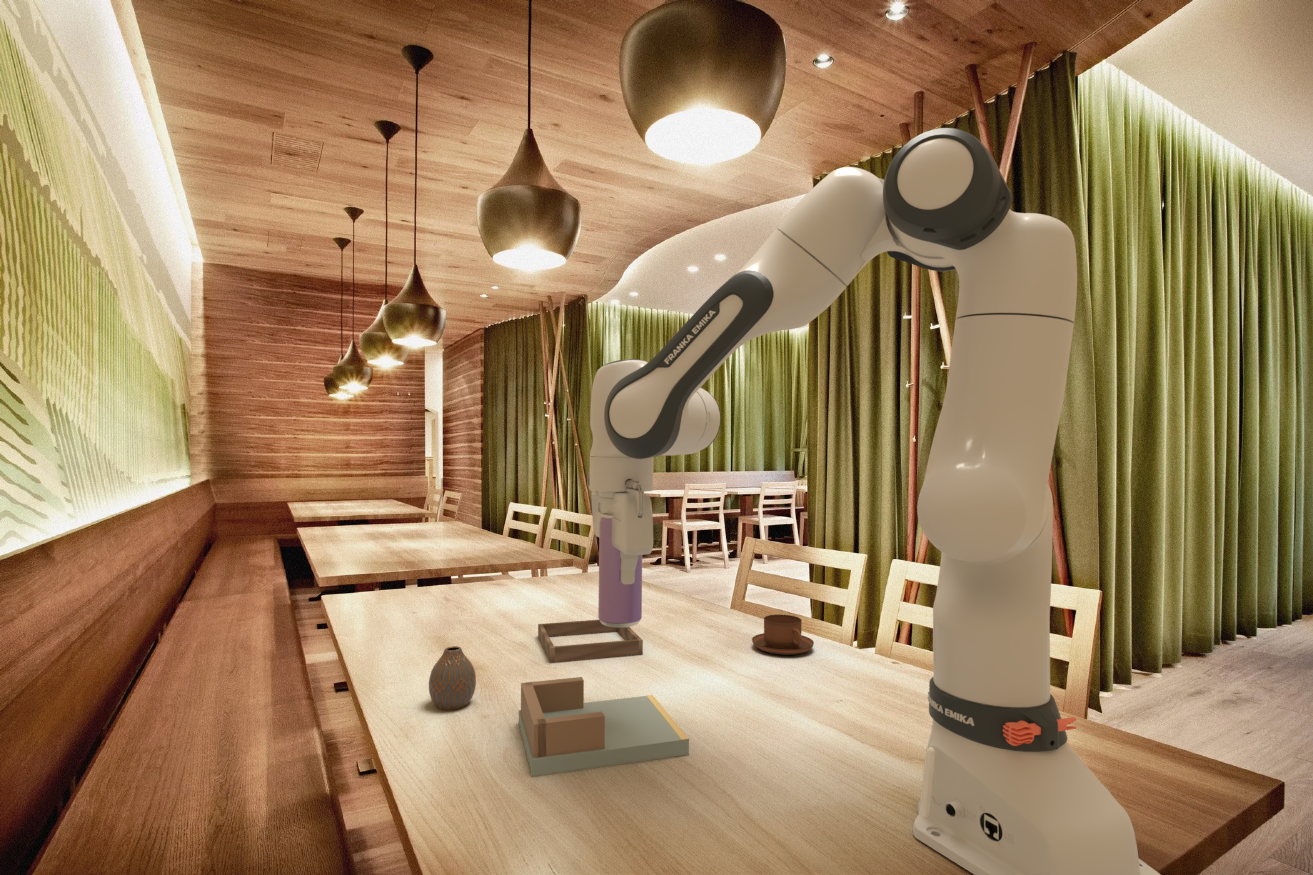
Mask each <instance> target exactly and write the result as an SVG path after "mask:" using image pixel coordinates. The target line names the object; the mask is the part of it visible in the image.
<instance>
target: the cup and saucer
mask: <svg viewBox="0 0 1313 875" xmlns="http://www.w3.org/2000/svg"><path fill="white" fill-rule="evenodd" d="M802 625H803V624H802V619H801V618H800V617H798V616H795V615H790V614H769V615H765V616H764V617H763V633H759V634H756V635H754V636H752V638H751V642H752V645H754V646H755V648H757V649H759V650H760V651H762V652H765V653H770V654H773V655H774V654H775V655H782V656H786V655H787V656H789V655H794V656H795V655H799V654H804V653H807V652H808V651H810V650H811V649H812V648H813V647H814V644H815V642H814V640H813V639H812V638H810V637H807V636H805V635H802Z"/></svg>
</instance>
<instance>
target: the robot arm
mask: <svg viewBox="0 0 1313 875" xmlns="http://www.w3.org/2000/svg"><path fill="white" fill-rule="evenodd" d="M1013 197H1014V196H1013V194H1012V192H1011V189H1010V188H1009V186H1008V185H1007V182H1006V180H1005V178H1004V177H1003V175H1002V173H1001V171H1000V168H999V166H998V163H997V162H996V161H995V158H994V157H993V155H992V153H991V152H990V150H989V149H988V148H987V147H986V146H985V145H984V143H982V142H981V140H980V139H978V138H977V137H976V136H974V135H973V134H971V133H970V132H967V131H964V130H962V129H958V128H953V127H942V128H941V127H940V128H935V129H931V130H928V131H924V132H923V133H920V134H919V135H917V136H915V137H913V138H912V139H911V140H909V141H907V143H906V144H904V145H903V146H902V147H901V148H900V149H899V151H897V153H896V155H895V156H894V157H893V158H892V160H891V162H890V163H889V166H888V168H887V170H886V174H885V176H884V178H879V177H878V176H876V175H875V174H873V173H872V172H870V171H867V170H865V169H863V168H859V167H855V166H843V167H839V168H836V169H834V170H832V171H830V173H828V174H827V175H826V176H825V177H823V179H822V180H820V181H819V182H818V183H817V184H816V185H815V186H814V187H812V189H810V191H808V193H806V194H805V195H804V197H802V198H801V199H800V200H799V201H798V202H797V203H796V205H794V207H793V208H792V209H790V211H789V212H788V213H787V215H786V216H784V218H783V219H782V220H781V222H780V223H779V224H778V225H777V226H776V229H774V230H773V231H772V233H771V234H770V235H769V236H768V238H767V239H766V240H765V241H764V242H763V243H762V245H761V246H760V247H759V249H758V250H756V252H755V253H754V254H753V255H752V256H751V258H750V259H749V260H748V261H747V262H746V263H745V264H744V265H743V266H742V267H741V268H740V269H739V270H737V272H736V273H734V275H733V276H731V277H730V278H729V279H728V280H727V281H726V282H725V283H724V284H723V283H722V285H721V286H720V287H719V288H718V289H716V291H715V292H714V293H713V294H712V295H710V296H709V297H708V299H707V300H706V301H705V302H703V304H702V305H701V306H700V307H699V308H698V310H696V311H695V313H693V315H692V316H691V317H690V318H689V319H688V320H687V321H686V322H685V323H684V325H683V326H682V327H681V328H680V329H679V330H678V331H677V332H676V333H675V334H674V335H673V336H672V337H671V339H670V340H668V342H667V343H666V344H665V345H664V346H663V347H662V348H661V349H660V350H659V351H658V352H657V353H656V355H655V356H653V358H651V359H650V361H648V362H647V361H646V360H643V359H638V358H630V359H629V358H628V359H619V360H614V361H611V362H608V363H605V364H603V365H602V366H601V367H600V368H598V369H597V371H596V373H595V375H594V378H593V383H592V387H591V393H590V394H591V395H590V396H591V398H590V411H589V412H590V413H589V417H590V418H589V425H590V430H591V433H592V445H591V448H590V452H589V472H588V474H587V487H588V489H589V490H590V492H591V493H590V494H591V497H590V498H591V514H592V526H593V530H594V535H595V536H596V537H597V538H599V525H600V519H601V514H602V513H607V514H608V515H614V518H612V545H613V547H615V548H616V549H618V550H620V558H621V569H619V580H620V582H621V583H623V584H633V583H634V581H635V569H636V565H637V561H638V555H642V556H643V555H651V553H652V552H653V547H654V519H653V507H652V501H651V497H650V496H649V495H648V494H646V493H645V492H652V491H654V458H655V457H659V456H661V457H662V456H681V455H682V456H683V455H685V456H687V455H693V454H695V453H699V452H702V451H703V450H705V449H707V448H708V447H710V446H711V444H713V443H714V441H715V439H716V438H717V436H718V434H719V431H720V430H721V429H720V428H721V422H722V421H721V420H722V416H721V415H722V414H721V409H720V406H719V404H718V402H717V400H716V399H715V397H714V396H713V395H712V394H711V393H710V392H709V391H707V390H706V389H705V388H702V386H703V385H704V384H705V383H706V382H707V381H708V380H709V379H710V378H711V377H712V376H713V375H714V373H716V371H717V370H718V369H719V368H720V367H721V366H722V365H723V364H724V363H725V362H726V360H727V359H728V358H730V357H731V355H732V354H733V353H734V352H735V351H736V350H738V349H739V348H740V347H741V346H743V345H744V344H746V343H747V342H750V341H752V340H753V339H756V338H757V337H761V336H764V335H767V334H771V333H775V332H780V331H788V330H795V329H800V328H803V327H805V326H807V325H808V324H810V323H811V322H812V321H814V319H816V318H817V317H819V316H820V315H821V314H822V313H823V312H825V311H826V310H827V309H828V308H829V307H830V306H831V305H832V304H833V303H835V301H836V300H837V299H838V297H839V296H840V295H841V294H842V293H843V292H844V291H845V289H846V288H847V286H849V285H850V284H851V283H852V282H853V280H854V279H855V277H856V276H858V274H859V272H861V271H862V269H864V267H865V266H866V265H867V264H868V263H870V261H871V260H873V259H874V258H875V257H876V256H878V255H881V254H883V253H885V252H886V253H887V255H888V256H889V257H890V258H893V259H895V260H899V261H902V262H905V263H908V264H911V265H913V266H916V267H919V268H921V269H925V270H930V271H934V272H935V271H936V272H952V271H956V272H957V276H958V282H959V283H958V289H959V290H958V297H957V298H958V299H957V300H958V301H957V306H956V313H955V321H954V329H953V336H952V343H951V351H950V359H949V368H948V375H947V383H946V388H945V394H944V397H943V402H942V407H941V410H940V413H939V418H938V420H937V424H936V428H935V431H934V434H933V439H932V444H931V447H930V452H929V455H928V460H927V464H926V469H925V474H924V479H923V484H922V487H921V489H920V491H919V495H918V498H917V508H916V509H917V512H916V513H917V519H918V523H919V525H920V528H921V530H922V532H923V534H924V536H925V537H926V538H927V539H928V541H929V542H930V543H931V544H932V545H933V546H934V547H935V548H936V549H937V550H938V551H940V552H941V556H940V564H939V572H938V579H937V587H936V593H935V598H934V601H933V606H932V655H933V657H932V658H933V659H932V662H933V663H932V665H933V666H932V667H933V670H932V672H933V674H932V675H933V676H932V677H931V678H930V679H929V686H928V687H929V688H928V692H927V699H928V700H927V701H928V714H929V716H930V717H931V718H932V725H931V730H930V735H929V740H928V742H927V746H926V750H925V756H924V757H925V758H924V764H923V766H924V767H923V774H922V785H921V794H920V798H919V799H918V800H919V801H918V803H917V813H918V815H917V816H916V817H915V820H913V821H914V822H913V827H912V828H913V829H912V835H913V837H914V838H916V839H917V840H918V841H920V842H922V843H923V844H925V845H927V846H928V847H930V848H931V849H933V850H934V851H936V852H937V853H939V854H940V855H943V857H946V858H947V859H949V860H950V861H952V862H954V863H956V864H957V865H959V866H960V868H961V867H962V868H963V869H965V870H967V871H968V872H970V873H971V874H973V875H1162V874H1160V872H1158V871H1156V869H1154V868H1152V867H1151V866H1150V865H1148V864H1147V863H1146V862H1145V861H1143V860H1142V859H1140V858H1139V852H1138V845H1137V839H1136V834H1135V830H1134V826H1133V823H1132V821H1131V818H1130V816H1129V814H1128V813H1127V810H1126V809H1125V808H1124V807H1123V806H1122V805H1121V804H1120V803H1119V801H1118V800H1117V799H1115V798H1116V797H1114V796H1113V795H1112V793H1111V792H1110V790H1109V789H1108V788H1107V787H1106V786H1105V785H1104V784H1103V783H1102V782H1101V781H1100V780H1099V779H1098V778H1097V776H1096V775H1095V774H1094V773H1093V772H1092V771H1091V770H1090V768H1089V767H1088V766H1087V765H1086V763H1085V762H1084V761H1083V760H1082V759H1081V757H1080V756H1079V755H1078V754H1077V753H1076V751H1075V750H1073V748H1072V747H1071V745H1069V743H1068V734H1067V732H1066V731H1069V730H1077V727H1076V726H1075V725H1074V726H1073V725H1072V726H1069V725H1071V724H1072V723H1074V722H1075V721H1077V718H1076V717H1074V716H1071V717H1066V718H1062V717H1061V713H1060V710H1059V708H1058V705H1057V702H1056V699H1055V698H1054V695H1053V694H1051V649H1050V648H1051V642H1050V641H1051V639H1050V638H1051V635H1050V634H1051V631H1050V620H1051V619H1050V618H1051V617H1050V616H1051V599H1052V598H1051V595H1052V594H1051V593H1052V574H1053V573H1052V570H1053V569H1052V568H1053V565H1052V564H1053V563H1052V562H1053V534H1054V531H1053V530H1054V529H1053V528H1054V523H1053V522H1054V499H1053V493H1052V490H1051V488H1050V484H1049V479H1050V477H1049V476H1050V471H1051V466H1052V460H1053V455H1054V449H1055V444H1056V439H1057V433H1058V428H1059V424H1060V419H1061V414H1062V409H1063V405H1064V399H1065V393H1066V384H1067V377H1068V370H1069V364H1070V358H1071V357H1070V356H1071V355H1070V354H1071V348H1072V343H1073V342H1072V341H1073V332H1074V326H1075V318H1076V312H1077V311H1076V310H1077V309H1076V308H1077V295H1078V264H1077V251H1076V241H1075V237H1074V235H1073V232H1072V230H1071V229H1070V228H1069V226H1068V225H1067V224H1066V223H1064V222H1063V221H1062V220H1060V219H1058V218H1055V217H1053V216H1050V215H1046V214H1044V213H1043V214H1042V213H1036V212H1025V213H1024V212H1016V211H1013V210H1011V209H1010V208H1011V206H1012V203H1013V200H1014V199H1013ZM1067 725H1068V726H1067Z"/></svg>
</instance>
